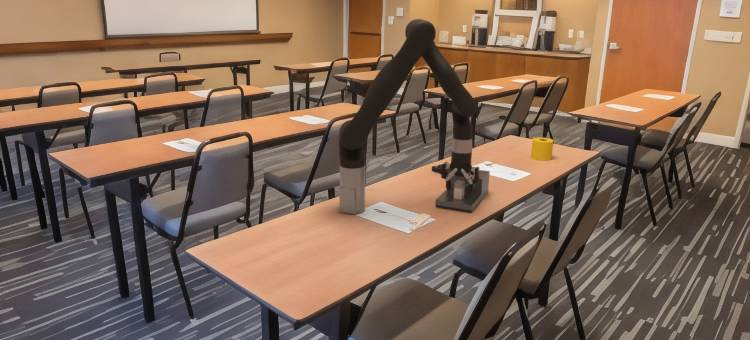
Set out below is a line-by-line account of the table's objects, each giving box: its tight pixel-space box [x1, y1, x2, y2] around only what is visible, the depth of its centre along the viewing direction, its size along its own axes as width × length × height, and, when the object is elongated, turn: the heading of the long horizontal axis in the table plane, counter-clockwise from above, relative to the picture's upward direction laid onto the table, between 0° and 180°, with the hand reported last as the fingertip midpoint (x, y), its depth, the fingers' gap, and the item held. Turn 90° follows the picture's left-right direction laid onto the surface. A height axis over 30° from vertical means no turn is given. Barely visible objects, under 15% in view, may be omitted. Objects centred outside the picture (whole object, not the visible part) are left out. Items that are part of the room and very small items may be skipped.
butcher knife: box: [409, 213, 432, 232], centre depth 192 cm, size 5×15×1 cm, turn 151°
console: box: [435, 169, 491, 214], centre depth 214 cm, size 26×14×9 cm, turn 156°
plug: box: [454, 180, 465, 200], centre depth 208 cm, size 4×3×8 cm
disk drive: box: [431, 162, 452, 176], centre depth 249 cm, size 10×3×15 cm
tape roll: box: [530, 137, 554, 162], centre depth 273 cm, size 10×10×9 cm
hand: (459, 191), depth 208 cm, fingers open, 8 cm apart
